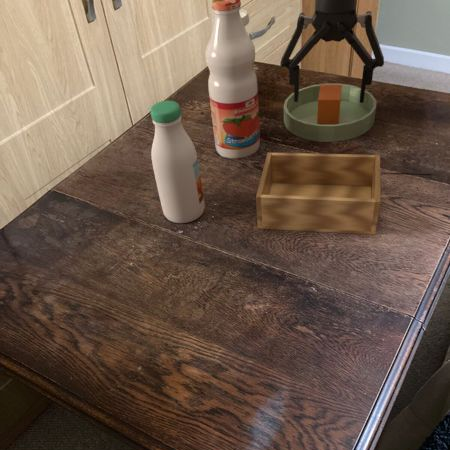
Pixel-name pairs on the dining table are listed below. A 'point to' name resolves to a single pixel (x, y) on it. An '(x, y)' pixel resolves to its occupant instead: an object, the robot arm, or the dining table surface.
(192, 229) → the dining table surface
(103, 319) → the dining table surface
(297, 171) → the holder
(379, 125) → the dining table surface
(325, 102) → the box
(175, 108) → the milk bottle
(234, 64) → the fruit juice
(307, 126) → the bowl
